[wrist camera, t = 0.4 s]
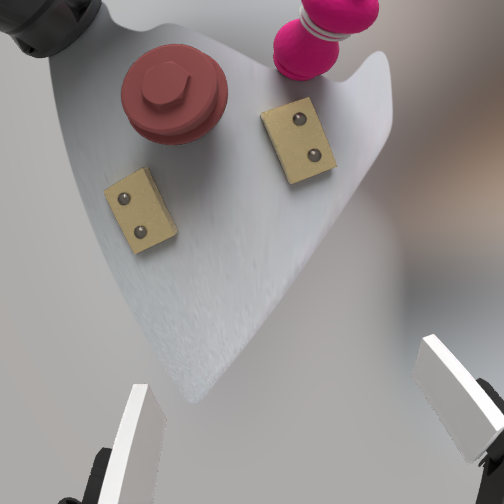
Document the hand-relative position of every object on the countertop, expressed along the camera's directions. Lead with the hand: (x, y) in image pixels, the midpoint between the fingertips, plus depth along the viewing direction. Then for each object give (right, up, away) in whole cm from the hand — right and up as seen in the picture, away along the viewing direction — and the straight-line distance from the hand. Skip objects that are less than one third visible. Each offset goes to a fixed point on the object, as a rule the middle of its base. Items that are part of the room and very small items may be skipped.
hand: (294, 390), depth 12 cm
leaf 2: (+4, +20, +21) cm, 29 cm away
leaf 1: (-16, +12, +22) cm, 29 cm away
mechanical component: (-10, +24, +19) cm, 32 cm away
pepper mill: (+4, +30, +17) cm, 35 cm away
